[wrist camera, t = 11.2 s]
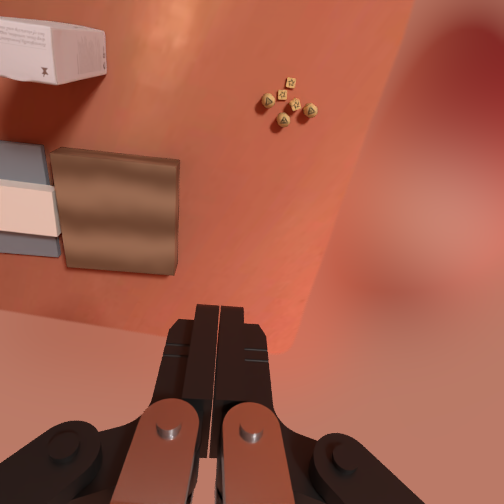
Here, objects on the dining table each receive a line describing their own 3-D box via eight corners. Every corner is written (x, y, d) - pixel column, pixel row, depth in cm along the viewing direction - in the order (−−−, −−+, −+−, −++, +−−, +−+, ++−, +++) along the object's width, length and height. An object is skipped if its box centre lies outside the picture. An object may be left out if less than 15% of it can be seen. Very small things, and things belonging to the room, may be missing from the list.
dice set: (316, 111, 42) (320, 113, 41) (279, 134, 43) (280, 137, 42) (297, 70, 40) (299, 70, 38) (257, 95, 41) (258, 97, 40)
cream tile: (-19, 176, 43) (-30, 181, 41) (59, 186, 44) (51, 192, 42) (-9, 221, 46) (-19, 228, 44) (64, 230, 47) (57, 236, 45)
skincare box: (105, 29, 37) (53, 21, 26) (108, 77, 39) (60, 86, 29) (43, 19, 36) (-36, 6, 26) (49, 68, 39) (-22, 75, 28)
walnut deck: (61, 146, 43) (49, 153, 40) (179, 159, 44) (176, 166, 41) (75, 255, 50) (67, 266, 47) (177, 264, 51) (174, 275, 48)
